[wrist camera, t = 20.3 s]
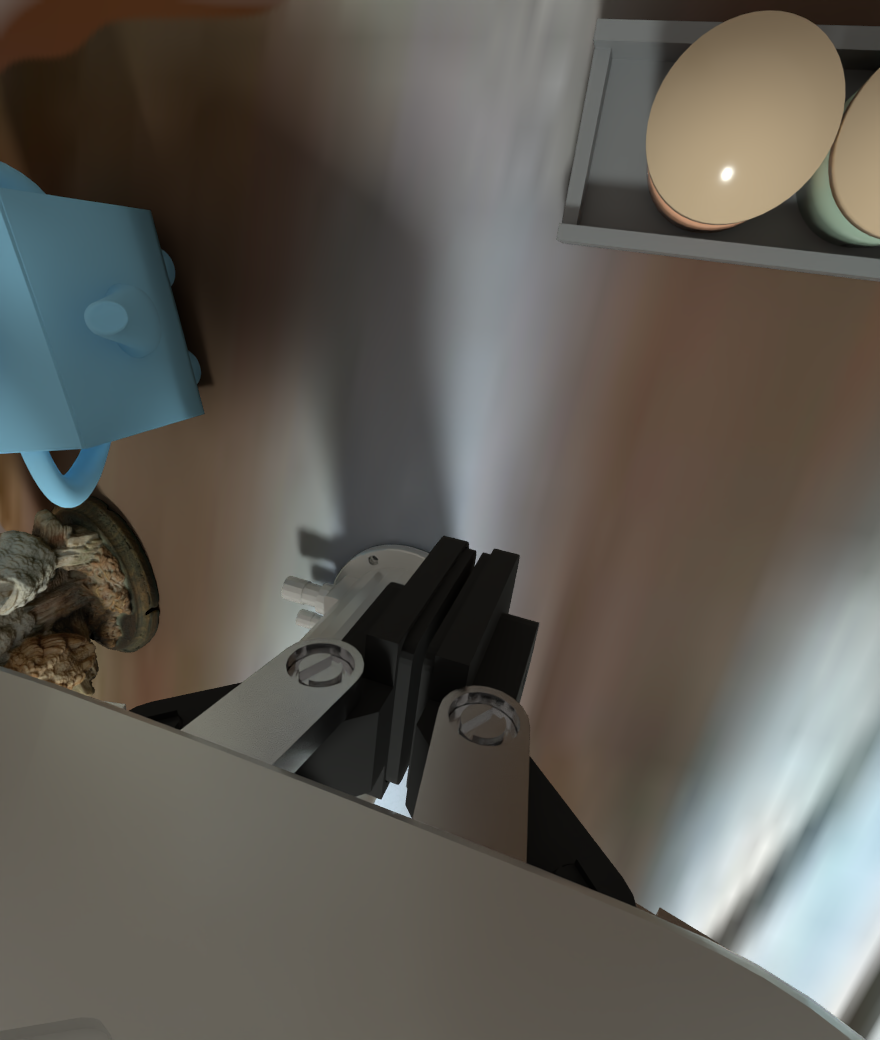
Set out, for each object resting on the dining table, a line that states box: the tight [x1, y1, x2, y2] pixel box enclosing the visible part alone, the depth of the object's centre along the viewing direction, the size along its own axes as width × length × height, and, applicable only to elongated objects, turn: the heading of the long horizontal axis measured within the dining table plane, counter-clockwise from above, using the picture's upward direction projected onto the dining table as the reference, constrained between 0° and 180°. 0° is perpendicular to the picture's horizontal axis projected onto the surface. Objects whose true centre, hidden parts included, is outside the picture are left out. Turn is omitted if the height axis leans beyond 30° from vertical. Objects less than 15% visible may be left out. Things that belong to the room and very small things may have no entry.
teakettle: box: [0, 162, 204, 508], centre depth 38 cm, size 19×19×15 cm
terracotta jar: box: [646, 10, 845, 233], centre depth 26 cm, size 7×7×7 cm
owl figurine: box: [0, 496, 159, 696], centre depth 49 cm, size 18×12×17 cm, turn 8°
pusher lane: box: [556, 19, 880, 282], centre depth 27 cm, size 22×9×4 cm, turn 83°
